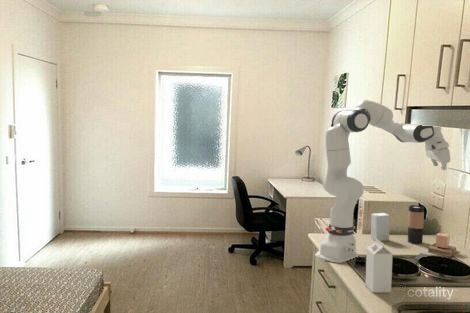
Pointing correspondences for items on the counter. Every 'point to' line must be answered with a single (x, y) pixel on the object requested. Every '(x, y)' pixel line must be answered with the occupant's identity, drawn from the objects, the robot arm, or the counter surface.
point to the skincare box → (380, 226)
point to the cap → (442, 240)
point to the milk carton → (378, 268)
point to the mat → (421, 256)
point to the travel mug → (415, 224)
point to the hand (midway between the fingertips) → (440, 167)
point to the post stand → (442, 250)
